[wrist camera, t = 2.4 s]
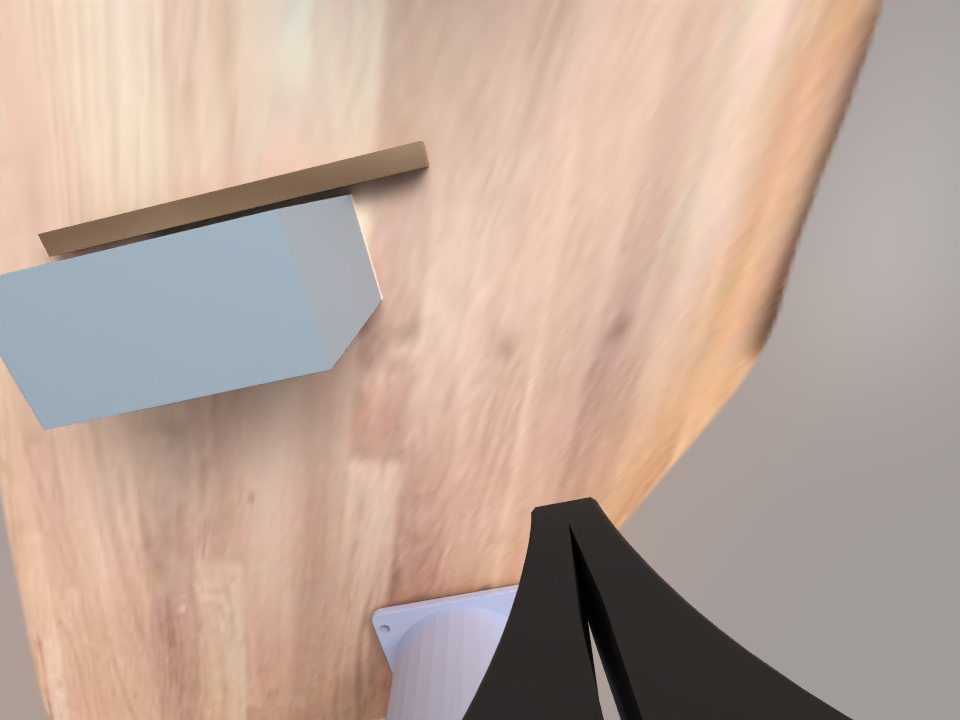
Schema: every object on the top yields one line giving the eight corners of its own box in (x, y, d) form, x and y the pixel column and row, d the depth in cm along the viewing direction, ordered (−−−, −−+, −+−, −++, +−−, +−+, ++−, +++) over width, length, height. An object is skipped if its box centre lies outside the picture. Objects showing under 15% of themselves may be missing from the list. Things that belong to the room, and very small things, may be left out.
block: (383, 298, 20) (331, 369, 13) (192, 340, 20) (44, 429, 13) (352, 193, 18) (274, 209, 11) (149, 242, 19) (-43, 284, 12)
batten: (429, 166, 18) (426, 166, 17) (70, 252, 19) (49, 256, 18) (423, 142, 18) (420, 141, 17) (59, 231, 19) (37, 234, 18)
